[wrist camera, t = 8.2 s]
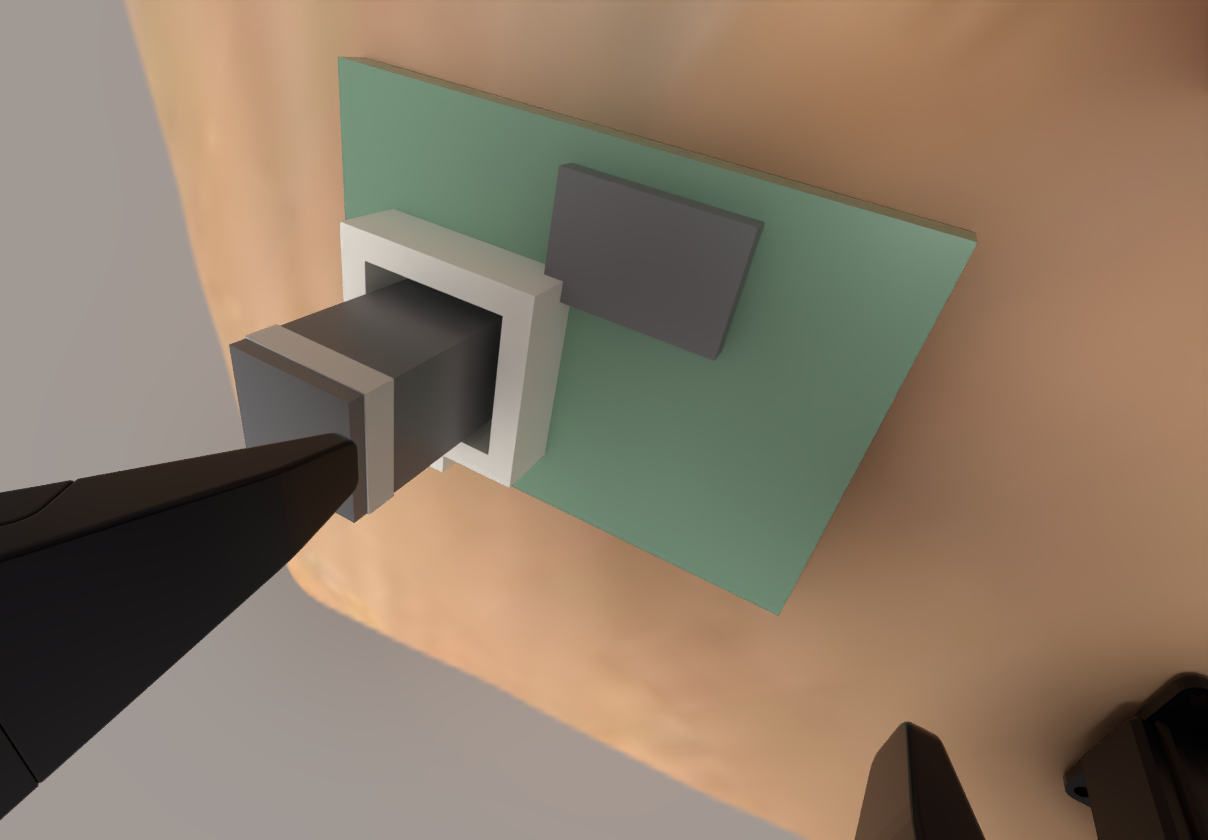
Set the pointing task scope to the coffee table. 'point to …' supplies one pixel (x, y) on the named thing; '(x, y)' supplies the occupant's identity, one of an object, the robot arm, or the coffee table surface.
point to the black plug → (374, 382)
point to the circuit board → (647, 316)
